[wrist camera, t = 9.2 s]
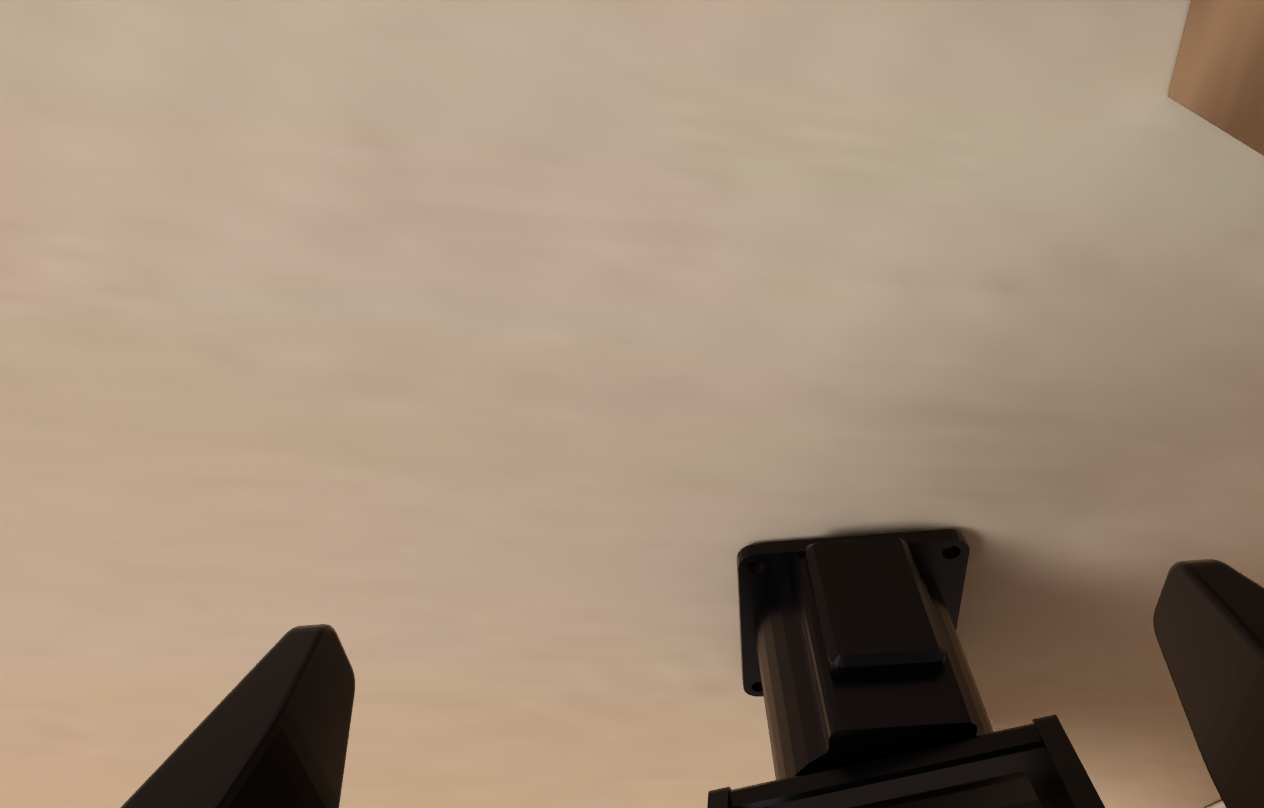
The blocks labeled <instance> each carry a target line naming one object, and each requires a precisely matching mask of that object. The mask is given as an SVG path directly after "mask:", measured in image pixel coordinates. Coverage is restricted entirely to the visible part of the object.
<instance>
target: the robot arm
mask: <svg viewBox="0 0 1264 808" xmlns="http://www.w3.org/2000/svg"><path fill="white" fill-rule="evenodd" d="M950 546H953V547H951V548H948V549H946V548H947V547H950ZM968 556H969V546H968V544H967V542H966V539H965V537H964V536H963V534H962V533H961V532H959V531H956V530H940V531H927V532H913V533H900V534H887V535H874V536H861V537H847V538H834V539H821V540H808V541H795V542H781V543H768V544H755V545H750V546H746V547H744V548H743V549H741V550H740V552H739V553H738V555H737V574H738V596H739V617H740V639H741V661H742V679H743V687H744V690H745V692H746V693H747V694H749V695H752V696H764V701H765V708H766V715H767V721H768V728H769V735H770V742H771V749H772V756H773V762H774V769H775V776H776V780H775V781H770V782H766V783H761V784H757V785H752V786H748V787H743V788H739V789H734V790H731V788H730V787H726V788H721V789H717V790H712V791H709V794H708V808H1105V807H1104V805H1103V803H1102V801H1101V799H1100V797H1099V795H1098V793H1097V791H1096V790H1095V788H1094V786H1093V784H1092V782H1091V780H1090V778H1089V776H1088V775H1087V773H1086V771H1085V769H1084V767H1083V765H1082V763H1081V761H1080V759H1079V758H1078V756H1077V754H1076V752H1075V750H1074V748H1073V746H1072V744H1071V742H1070V741H1069V739H1068V737H1067V735H1066V733H1065V731H1064V729H1063V727H1062V725H1061V724H1060V722H1059V720H1058V718H1057V716H1056V715H1051V716H1047V717H1042V718H1038V719H1033V724H1029V725H1024V726H1020V727H1015V728H1011V729H1006V730H1002V731H997V732H994V731H993V729H992V726H991V723H990V721H989V718H988V715H987V713H986V710H985V707H984V705H983V702H982V700H981V697H980V694H979V692H978V689H977V686H976V684H975V681H974V678H973V676H972V673H971V670H970V668H969V665H968V663H967V660H966V657H965V655H964V652H963V649H962V647H961V644H960V641H959V639H958V636H957V633H956V627H957V621H958V615H959V609H960V603H961V597H962V591H963V585H964V579H965V573H966V567H967V562H968ZM752 561H759V562H757V563H750V562H752ZM1153 622H1154V630H1155V634H1156V637H1157V640H1158V643H1159V645H1160V648H1161V650H1162V653H1163V656H1164V658H1165V661H1166V664H1167V666H1168V669H1169V671H1170V674H1171V677H1172V679H1173V682H1174V684H1175V687H1176V690H1177V692H1178V695H1179V698H1180V700H1181V703H1182V705H1183V708H1184V711H1185V713H1186V716H1187V719H1188V721H1189V724H1190V726H1191V729H1192V732H1193V734H1194V737H1195V739H1196V742H1197V745H1198V747H1199V750H1200V752H1201V755H1202V757H1203V760H1204V762H1205V764H1206V767H1207V769H1208V772H1209V774H1210V776H1211V778H1212V780H1213V782H1214V784H1215V786H1216V788H1217V790H1218V792H1219V794H1220V796H1221V798H1222V800H1223V802H1224V804H1225V806H1226V808H1264V588H1263V587H1261V586H1260V585H1258V584H1256V583H1255V582H1253V581H1252V580H1250V579H1249V578H1247V577H1246V576H1244V575H1242V574H1241V573H1239V572H1238V571H1236V570H1235V569H1233V568H1231V567H1230V566H1228V565H1227V564H1225V563H1223V562H1221V561H1218V560H1213V559H1205V560H1191V561H1180V562H1177V563H1175V564H1174V565H1173V566H1172V567H1171V568H1170V570H1169V572H1168V575H1167V578H1166V581H1165V584H1164V586H1163V589H1162V592H1161V595H1160V598H1159V600H1158V603H1157V606H1156V609H1155V612H1154V620H1153ZM354 693H355V678H354V672H353V669H352V667H351V664H350V662H349V660H348V658H347V655H346V653H345V651H344V649H343V647H342V644H341V642H340V640H339V638H338V635H337V633H336V632H335V630H334V628H332V627H331V626H330V625H326V624H320V625H307V626H298V627H295V628H293V629H291V630H290V631H288V632H287V633H286V634H285V635H284V636H283V637H282V638H281V639H280V640H279V642H278V643H277V644H276V645H275V646H274V647H273V648H272V649H271V650H270V651H269V652H268V653H267V654H266V655H265V656H264V657H263V658H262V659H261V660H260V661H259V663H258V664H257V665H256V666H255V667H254V668H253V669H252V670H251V671H250V672H249V673H248V674H247V675H246V676H245V677H244V678H243V679H242V680H241V681H240V683H239V684H238V685H237V686H236V687H235V688H234V689H233V690H232V691H231V692H230V693H229V694H228V695H227V696H226V697H225V698H224V699H223V700H222V701H221V703H220V704H219V705H218V706H217V707H216V708H215V709H214V710H213V711H212V712H211V713H210V714H209V715H208V716H207V717H206V718H205V719H204V720H203V721H202V723H201V724H200V725H199V726H198V727H197V728H196V729H195V730H194V731H193V732H192V733H191V734H190V735H189V736H188V737H187V738H186V739H185V740H184V741H183V743H182V744H181V745H180V746H179V747H178V748H177V749H176V750H175V751H174V752H173V753H172V754H171V755H170V756H169V757H168V758H167V759H166V760H165V761H164V763H163V764H162V765H161V766H160V767H159V768H158V769H157V770H156V771H155V772H154V773H153V774H152V775H151V776H150V777H149V778H148V779H147V780H146V781H145V783H144V784H143V785H142V786H141V787H140V788H139V789H138V790H137V791H136V792H135V793H134V794H133V795H132V796H131V797H130V798H129V799H128V800H127V801H126V803H125V804H124V805H123V806H122V807H121V808H339V803H340V796H341V788H342V781H343V774H344V766H345V759H346V752H347V744H348V737H349V730H350V722H351V715H352V708H353V700H354Z"/></svg>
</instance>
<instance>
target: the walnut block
mask: <svg viewBox="0 0 1264 808" xmlns="http://www.w3.org/2000/svg"><path fill="white" fill-rule="evenodd" d="M1168 97H1170V98H1171V99H1173V100H1174V101H1176V102H1178V103H1179V104H1181V105H1183V106H1184V107H1186V108H1187V109H1189V110H1191V111H1192V112H1194V113H1195V114H1197V115H1199V116H1200V117H1202V118H1204V119H1205V120H1207V121H1208V122H1210V123H1212V124H1213V125H1215V126H1217V127H1218V128H1220V129H1221V130H1223V131H1225V132H1226V133H1228V134H1229V135H1231V136H1233V137H1234V138H1236V139H1238V140H1239V141H1241V142H1242V143H1244V144H1246V145H1247V146H1249V147H1251V148H1252V149H1254V150H1255V151H1257V152H1259V153H1260V154H1262V155H1264V0H1191V3H1190V7H1189V11H1188V15H1187V19H1186V23H1185V27H1184V31H1183V35H1182V39H1181V43H1180V47H1179V52H1178V56H1177V60H1176V64H1175V68H1174V72H1173V76H1172V80H1171V84H1170V88H1169V92H1168Z"/></svg>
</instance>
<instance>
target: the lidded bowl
mask: <svg viewBox="0 0 1264 808" xmlns="http://www.w3.org/2000/svg"><path fill="white" fill-rule="evenodd" d="M1206 808H1226V806H1225V804H1224V802H1223V800H1220V801H1218V802H1216V803H1214V804H1212V805H1210V806H1208V807H1206Z"/></svg>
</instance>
